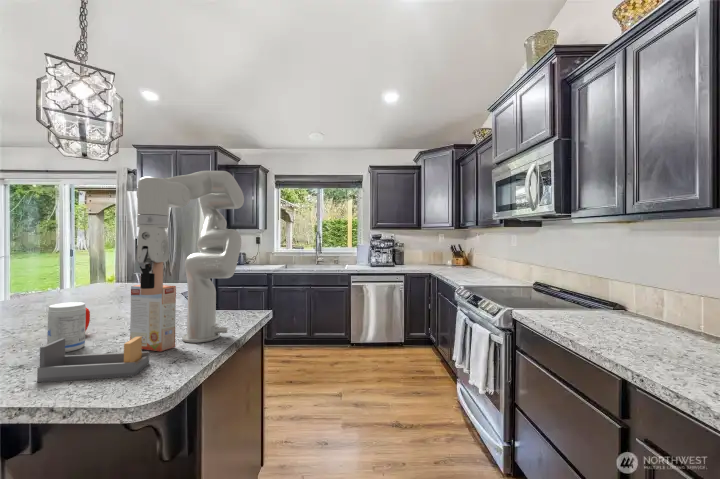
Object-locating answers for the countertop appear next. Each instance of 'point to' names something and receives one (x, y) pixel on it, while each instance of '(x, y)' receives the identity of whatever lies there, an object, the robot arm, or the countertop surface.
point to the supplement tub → (67, 324)
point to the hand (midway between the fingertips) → (152, 286)
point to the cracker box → (154, 318)
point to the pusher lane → (84, 364)
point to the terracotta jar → (155, 280)
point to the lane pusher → (133, 350)
